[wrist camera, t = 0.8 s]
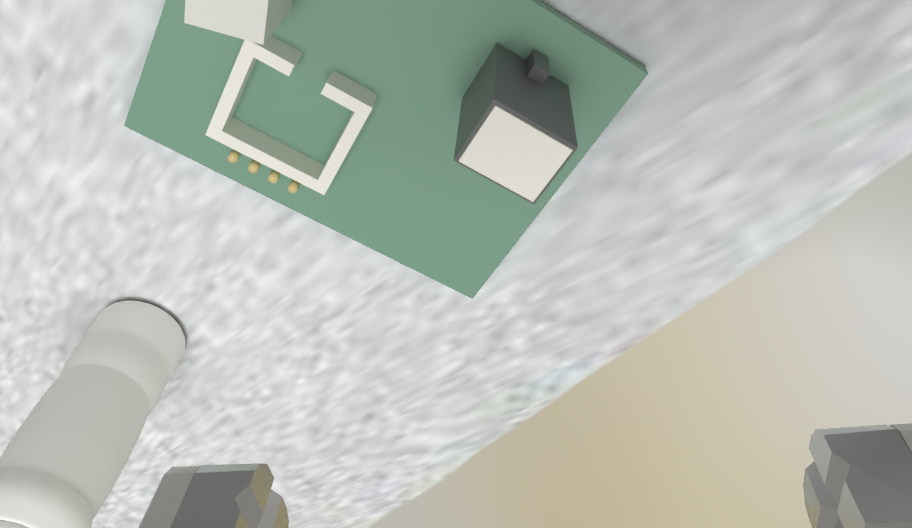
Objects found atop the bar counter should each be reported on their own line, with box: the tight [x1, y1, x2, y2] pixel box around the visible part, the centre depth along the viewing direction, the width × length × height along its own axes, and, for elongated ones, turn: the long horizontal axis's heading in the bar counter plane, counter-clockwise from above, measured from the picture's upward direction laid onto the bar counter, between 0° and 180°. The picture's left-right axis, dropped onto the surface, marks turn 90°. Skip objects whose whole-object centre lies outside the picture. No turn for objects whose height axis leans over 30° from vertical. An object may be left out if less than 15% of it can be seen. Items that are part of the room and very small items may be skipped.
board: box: [124, 0, 648, 299], centre depth 45 cm, size 20×26×3 cm
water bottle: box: [0, 301, 186, 528], centre depth 50 cm, size 7×7×25 cm
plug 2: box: [453, 43, 578, 204], centre depth 41 cm, size 5×5×8 cm
